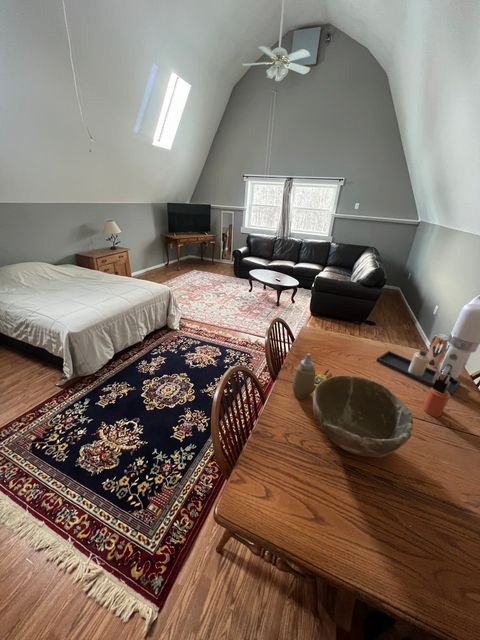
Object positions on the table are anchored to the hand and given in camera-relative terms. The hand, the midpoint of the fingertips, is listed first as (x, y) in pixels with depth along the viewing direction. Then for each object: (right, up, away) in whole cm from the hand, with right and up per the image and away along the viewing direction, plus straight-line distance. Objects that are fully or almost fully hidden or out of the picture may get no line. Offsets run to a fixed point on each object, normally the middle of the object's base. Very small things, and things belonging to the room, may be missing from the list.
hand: (442, 385), depth 92 cm
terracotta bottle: (0, -10, +5) cm, 12 cm away
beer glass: (+19, +1, +32) cm, 38 cm away
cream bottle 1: (+7, 0, +25) cm, 26 cm away
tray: (+7, -1, +26) cm, 27 cm away
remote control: (-36, -2, +19) cm, 41 cm away
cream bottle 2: (+13, -4, +19) cm, 23 cm away
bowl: (-35, -15, -8) cm, 39 cm away
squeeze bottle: (-46, -6, +10) cm, 48 cm away
